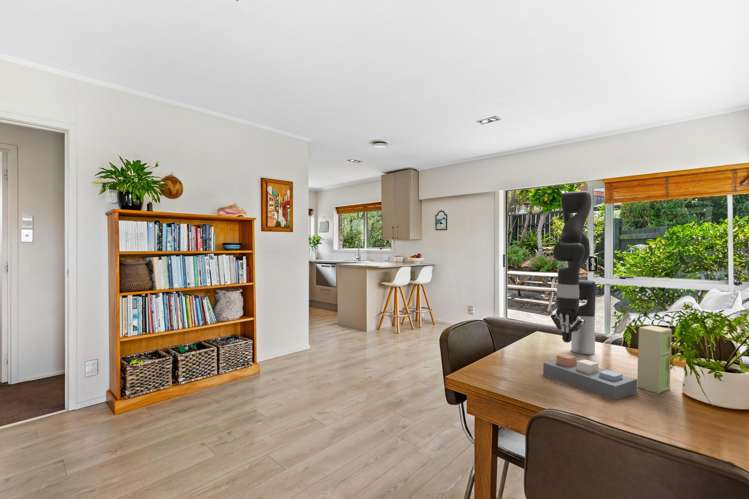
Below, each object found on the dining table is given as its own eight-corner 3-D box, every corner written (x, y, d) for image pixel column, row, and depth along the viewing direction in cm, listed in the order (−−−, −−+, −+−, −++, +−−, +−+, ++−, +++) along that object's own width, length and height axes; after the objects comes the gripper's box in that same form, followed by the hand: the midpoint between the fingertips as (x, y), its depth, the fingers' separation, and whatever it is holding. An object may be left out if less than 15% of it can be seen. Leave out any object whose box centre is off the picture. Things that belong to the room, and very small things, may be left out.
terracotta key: (564, 363, 143) (564, 353, 143) (576, 367, 139) (576, 356, 139) (556, 365, 140) (556, 355, 140) (568, 369, 136) (568, 358, 136)
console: (564, 369, 147) (564, 357, 147) (636, 392, 124) (637, 379, 124) (543, 374, 141) (543, 362, 141) (615, 400, 118) (615, 386, 118)
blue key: (607, 381, 129) (607, 369, 129) (621, 386, 125) (622, 374, 125) (599, 383, 126) (599, 372, 126) (613, 388, 122) (614, 376, 122)
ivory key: (584, 370, 136) (585, 359, 136) (598, 374, 132) (598, 363, 132) (576, 372, 133) (577, 361, 133) (590, 376, 129) (590, 365, 129)
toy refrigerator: (660, 394, 123) (662, 331, 123) (636, 386, 129) (637, 327, 129) (673, 390, 127) (674, 329, 126) (649, 383, 133) (650, 325, 133)
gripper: (591, 297, 135) (590, 345, 135) (558, 293, 147) (557, 337, 147) (578, 299, 131) (577, 347, 132) (545, 294, 143) (544, 339, 143)
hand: (566, 341), depth 139 cm, fingers closed
